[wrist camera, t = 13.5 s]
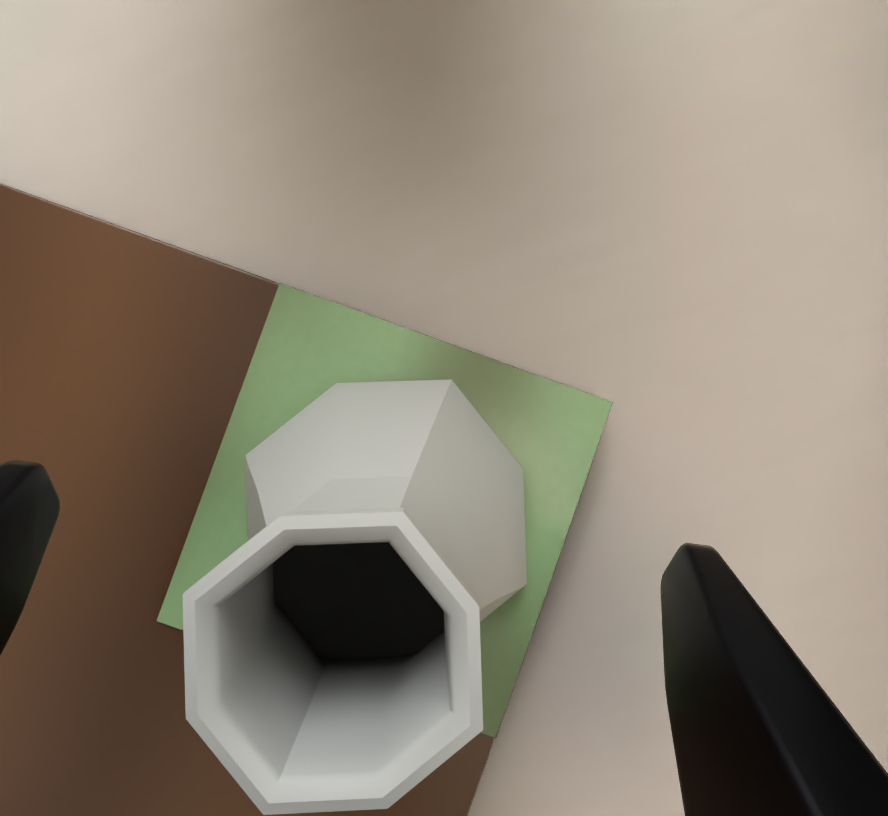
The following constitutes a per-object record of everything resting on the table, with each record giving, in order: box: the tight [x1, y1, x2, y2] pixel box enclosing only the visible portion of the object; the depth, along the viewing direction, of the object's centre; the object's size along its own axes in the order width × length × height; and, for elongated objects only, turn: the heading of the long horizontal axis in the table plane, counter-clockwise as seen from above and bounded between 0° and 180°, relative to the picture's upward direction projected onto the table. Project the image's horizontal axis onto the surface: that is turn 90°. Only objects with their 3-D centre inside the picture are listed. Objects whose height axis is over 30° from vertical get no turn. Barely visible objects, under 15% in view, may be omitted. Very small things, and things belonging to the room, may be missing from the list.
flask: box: [183, 379, 527, 815], centre depth 12 cm, size 7×7×10 cm
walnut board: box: [0, 184, 613, 816], centre depth 17 cm, size 19×22×1 cm
